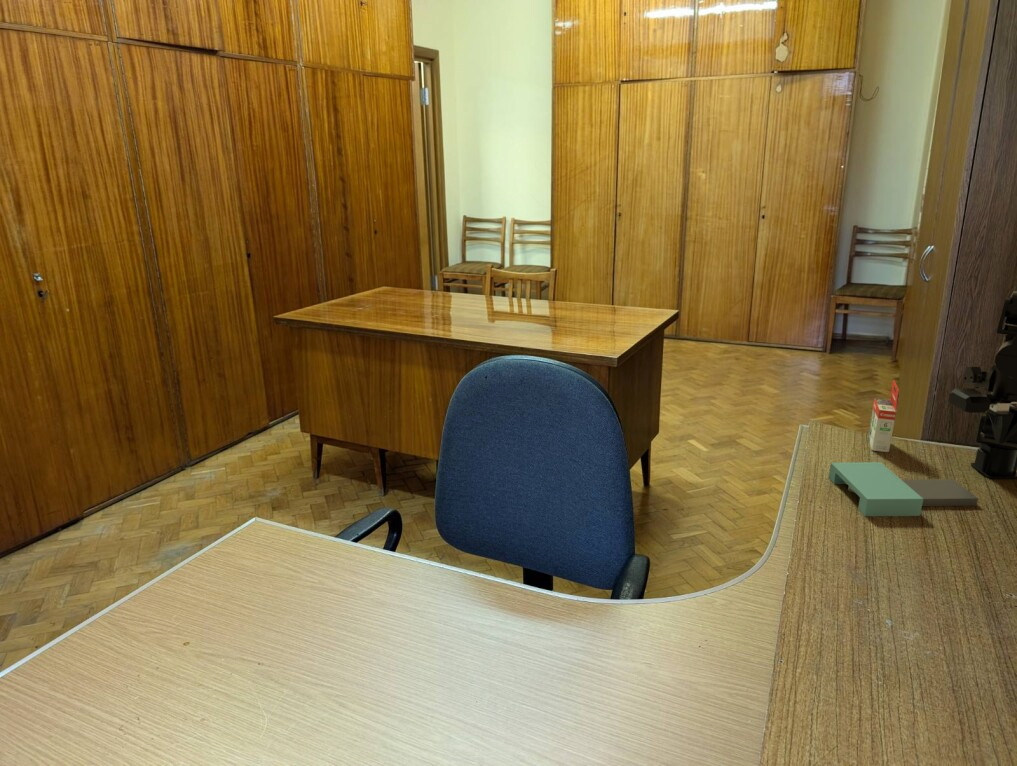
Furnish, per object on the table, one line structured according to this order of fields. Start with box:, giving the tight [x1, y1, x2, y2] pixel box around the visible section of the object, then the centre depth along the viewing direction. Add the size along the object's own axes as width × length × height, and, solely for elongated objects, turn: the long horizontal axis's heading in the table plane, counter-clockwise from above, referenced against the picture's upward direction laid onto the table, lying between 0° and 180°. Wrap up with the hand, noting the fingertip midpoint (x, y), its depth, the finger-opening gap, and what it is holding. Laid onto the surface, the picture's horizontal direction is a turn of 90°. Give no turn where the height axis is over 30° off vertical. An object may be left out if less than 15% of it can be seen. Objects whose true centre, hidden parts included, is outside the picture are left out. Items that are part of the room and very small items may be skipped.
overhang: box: [828, 461, 923, 517], centre depth 131 cm, size 10×15×4 cm, turn 179°
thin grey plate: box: [900, 478, 979, 507], centre depth 132 cm, size 11×8×2 cm
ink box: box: [867, 379, 901, 453], centre depth 152 cm, size 4×8×15 cm, turn 160°
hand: (999, 442), depth 128 cm, fingers closed
